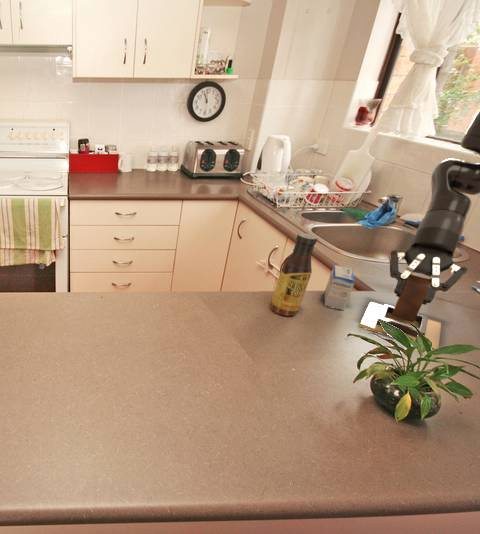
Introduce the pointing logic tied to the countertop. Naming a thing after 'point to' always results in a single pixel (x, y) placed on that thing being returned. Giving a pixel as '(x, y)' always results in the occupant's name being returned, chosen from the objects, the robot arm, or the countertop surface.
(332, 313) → the countertop surface
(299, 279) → the sauce bottle
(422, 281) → the pad block
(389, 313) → the back plate
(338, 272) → the medicine box
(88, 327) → the countertop surface
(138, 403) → the countertop surface
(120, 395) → the countertop surface
